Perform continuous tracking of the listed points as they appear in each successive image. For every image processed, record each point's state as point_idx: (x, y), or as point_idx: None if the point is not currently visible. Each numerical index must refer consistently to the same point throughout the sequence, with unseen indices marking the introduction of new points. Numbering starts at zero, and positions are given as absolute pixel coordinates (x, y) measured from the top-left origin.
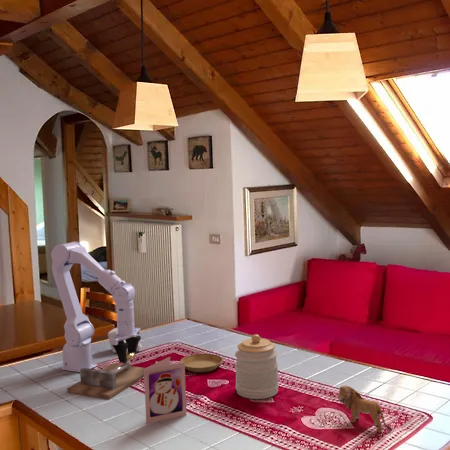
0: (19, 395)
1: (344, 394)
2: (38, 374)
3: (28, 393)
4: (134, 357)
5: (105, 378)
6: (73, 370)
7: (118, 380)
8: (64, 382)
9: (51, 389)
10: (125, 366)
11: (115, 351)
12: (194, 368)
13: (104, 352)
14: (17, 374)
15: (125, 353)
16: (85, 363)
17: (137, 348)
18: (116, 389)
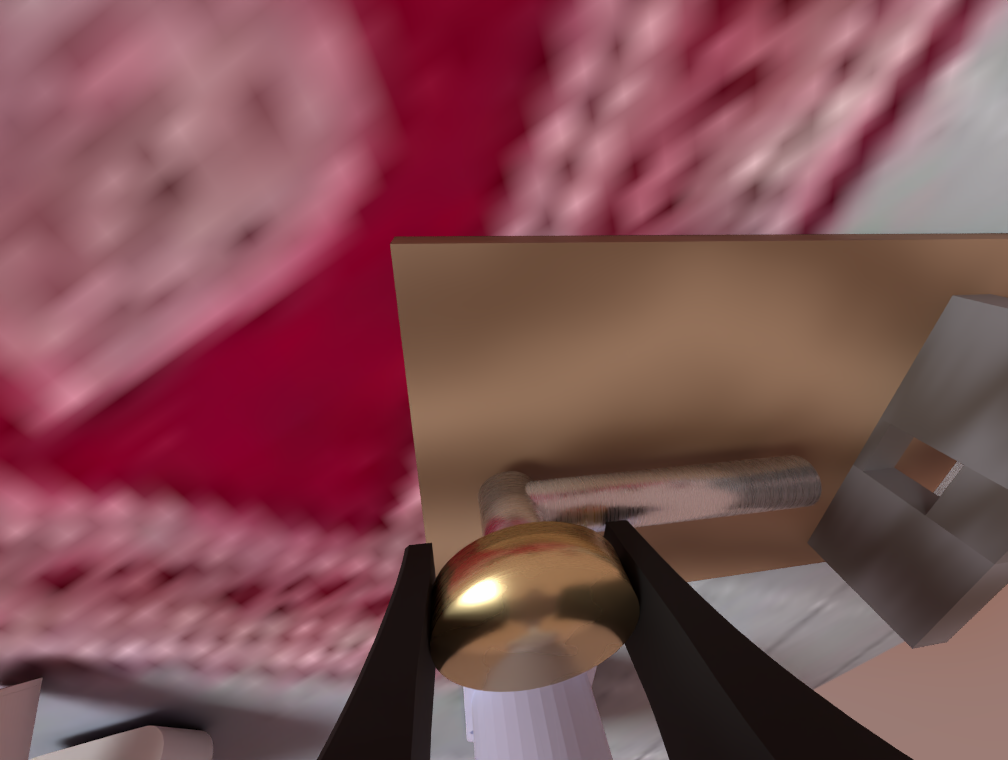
0: (876, 633)
1: None
2: (649, 721)
3: (859, 626)
4: (417, 546)
5: None
6: (592, 680)
7: (785, 379)
8: (734, 615)
9: (823, 598)
10: (590, 489)
11: (197, 741)
12: None
13: (238, 757)
14: (660, 751)
15: (713, 629)
16: (572, 701)
17: (6, 707)
18: (1006, 261)
